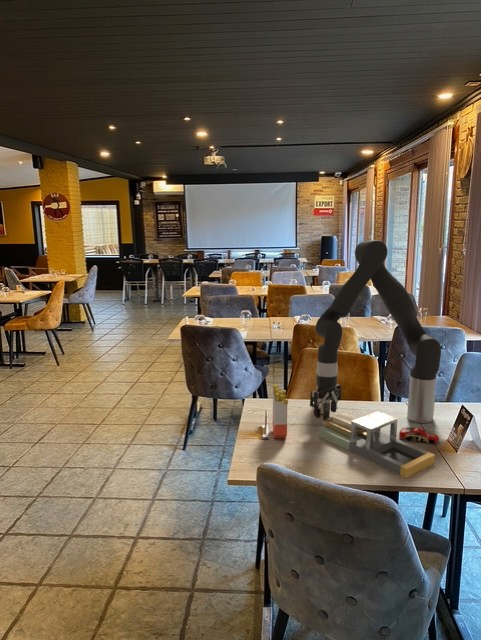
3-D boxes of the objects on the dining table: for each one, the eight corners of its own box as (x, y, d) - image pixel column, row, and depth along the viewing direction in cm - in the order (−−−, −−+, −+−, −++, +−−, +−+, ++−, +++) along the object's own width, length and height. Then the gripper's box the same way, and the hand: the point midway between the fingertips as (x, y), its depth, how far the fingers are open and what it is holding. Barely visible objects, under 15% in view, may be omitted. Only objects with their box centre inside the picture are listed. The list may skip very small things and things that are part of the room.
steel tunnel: (376, 431, 169) (377, 411, 167) (396, 439, 162) (397, 418, 161) (350, 441, 160) (351, 420, 159) (369, 450, 154) (371, 429, 153)
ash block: (343, 422, 176) (343, 412, 175) (365, 432, 168) (366, 421, 167) (332, 427, 172) (332, 416, 171) (354, 436, 164) (354, 426, 163)
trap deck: (346, 425, 181) (346, 417, 180) (434, 463, 152) (434, 454, 152) (318, 435, 172) (318, 428, 171) (405, 478, 144) (406, 469, 143)
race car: (438, 439, 170) (439, 429, 169) (439, 446, 165) (440, 435, 164) (399, 434, 174) (400, 423, 173) (398, 440, 169) (399, 429, 168)
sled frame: (332, 414, 182) (333, 399, 181) (381, 435, 165) (383, 419, 163) (314, 421, 176) (314, 405, 175) (363, 443, 159) (364, 426, 157)
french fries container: (284, 428, 178) (285, 382, 174) (287, 441, 167) (289, 392, 164) (272, 428, 178) (272, 382, 174) (274, 441, 167) (275, 392, 164)
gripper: (332, 366, 182) (330, 407, 185) (305, 374, 174) (304, 415, 177) (347, 371, 176) (345, 413, 180) (320, 379, 168) (319, 422, 171)
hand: (325, 414), depth 178 cm, fingers open, 8 cm apart
